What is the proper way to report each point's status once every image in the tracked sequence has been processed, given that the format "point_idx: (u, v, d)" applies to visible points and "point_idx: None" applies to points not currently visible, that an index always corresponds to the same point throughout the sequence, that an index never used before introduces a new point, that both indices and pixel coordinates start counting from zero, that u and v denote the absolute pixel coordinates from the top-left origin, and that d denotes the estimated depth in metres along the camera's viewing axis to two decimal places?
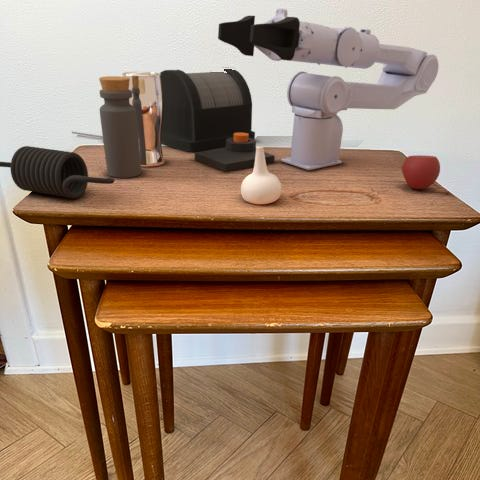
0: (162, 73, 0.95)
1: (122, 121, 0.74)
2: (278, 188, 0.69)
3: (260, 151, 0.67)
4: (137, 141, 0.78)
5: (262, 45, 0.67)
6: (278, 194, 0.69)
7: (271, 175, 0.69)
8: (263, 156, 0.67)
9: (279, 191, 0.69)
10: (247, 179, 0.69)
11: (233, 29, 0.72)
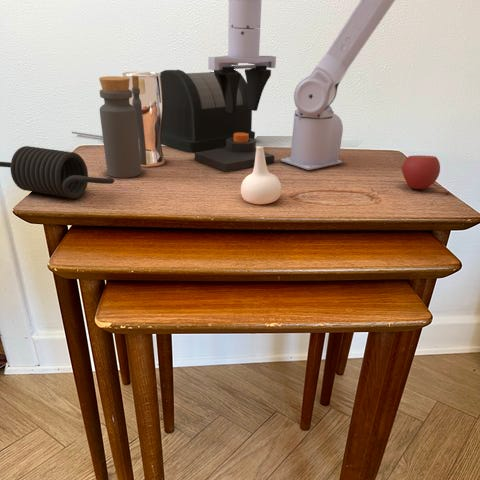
0: (162, 73, 0.95)
1: (122, 121, 0.74)
2: (278, 188, 0.69)
3: (260, 151, 0.67)
4: (137, 141, 0.78)
5: (232, 103, 0.86)
6: (278, 194, 0.69)
7: (271, 175, 0.69)
8: (263, 156, 0.67)
9: (279, 191, 0.69)
10: (247, 179, 0.69)
11: (250, 95, 0.90)
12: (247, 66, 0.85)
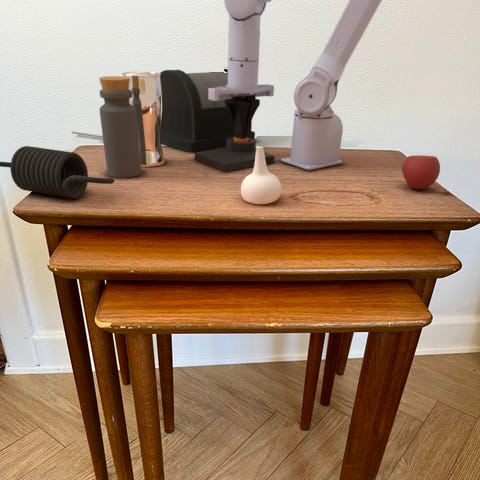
0: (162, 73, 0.95)
1: (122, 121, 0.74)
2: (278, 188, 0.69)
3: (260, 151, 0.67)
4: (137, 141, 0.78)
5: (241, 129, 0.90)
6: (278, 194, 0.69)
7: (271, 175, 0.69)
8: (263, 156, 0.67)
9: (279, 191, 0.69)
10: (247, 179, 0.69)
11: None
12: (246, 95, 0.88)
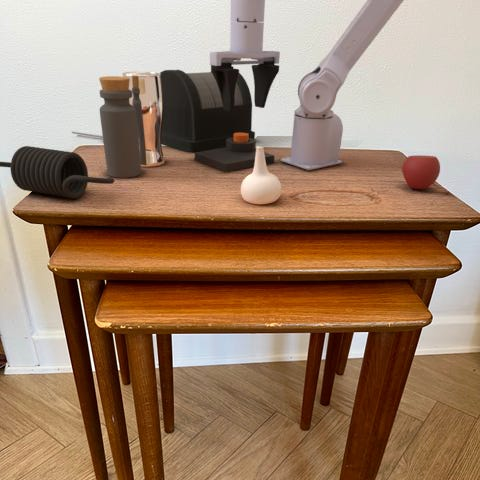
0: (162, 73, 0.95)
1: (122, 121, 0.74)
2: (278, 188, 0.69)
3: (260, 151, 0.67)
4: (137, 141, 0.78)
5: (230, 100, 0.82)
6: (278, 194, 0.69)
7: (271, 175, 0.69)
8: (263, 156, 0.67)
9: (279, 191, 0.69)
10: (247, 179, 0.69)
11: (257, 92, 0.87)
12: (250, 62, 0.82)
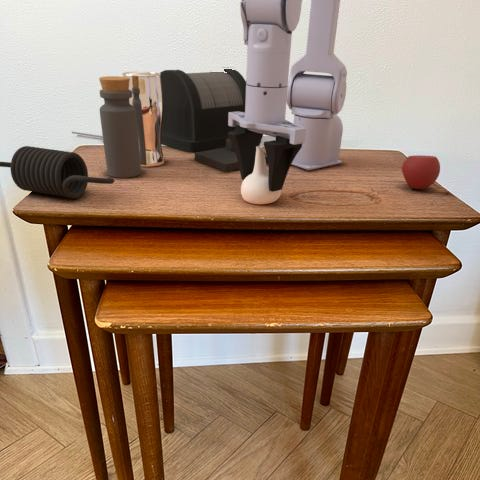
0: (162, 73, 0.95)
1: (122, 121, 0.74)
2: None
3: (260, 151, 0.67)
4: (137, 141, 0.78)
5: (285, 177, 0.67)
6: (278, 194, 0.69)
7: None
8: (263, 156, 0.67)
9: (279, 191, 0.69)
10: (248, 179, 0.69)
11: (246, 163, 0.71)
12: None
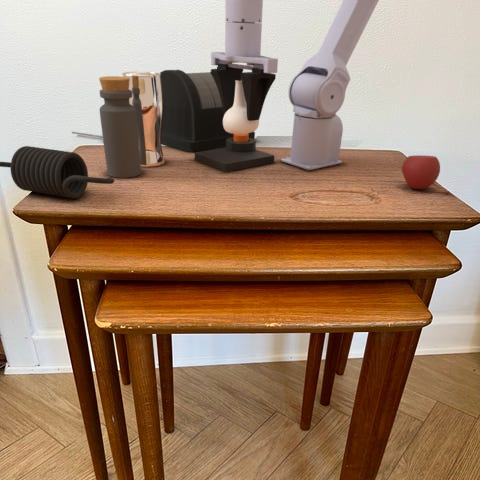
0: (162, 73, 0.95)
1: (122, 121, 0.74)
2: None
3: (239, 85, 0.75)
4: (137, 141, 0.78)
5: (261, 108, 0.76)
6: (256, 125, 0.78)
7: None
8: (242, 89, 0.76)
9: (257, 122, 0.78)
10: (228, 111, 0.77)
11: (227, 98, 0.79)
12: None
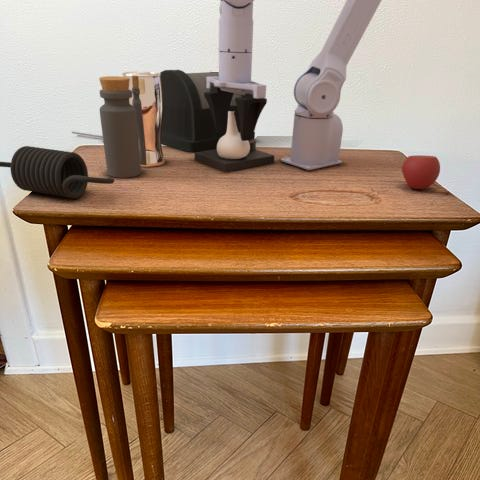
0: (162, 73, 0.95)
1: (122, 121, 0.74)
2: (246, 146, 0.85)
3: (231, 115, 0.83)
4: (137, 141, 0.78)
5: (254, 129, 0.82)
6: (247, 151, 0.85)
7: None
8: (234, 119, 0.83)
9: (247, 148, 0.85)
10: (222, 139, 0.85)
11: (219, 118, 0.86)
12: None
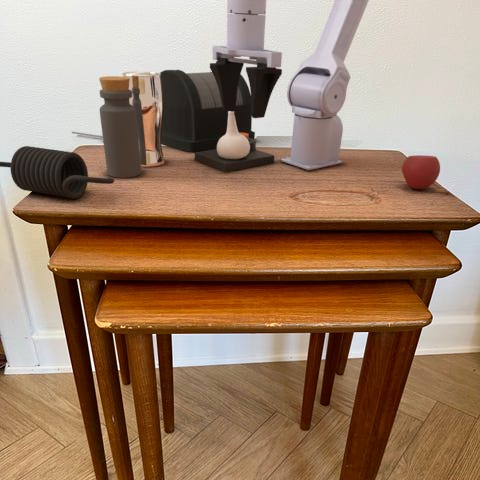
0: (162, 73, 0.95)
1: (122, 121, 0.74)
2: (246, 146, 0.85)
3: (231, 115, 0.83)
4: (137, 141, 0.78)
5: None
6: (247, 151, 0.85)
7: (241, 135, 0.85)
8: (234, 119, 0.83)
9: (247, 148, 0.85)
10: (222, 139, 0.85)
11: (227, 94, 0.76)
12: None
